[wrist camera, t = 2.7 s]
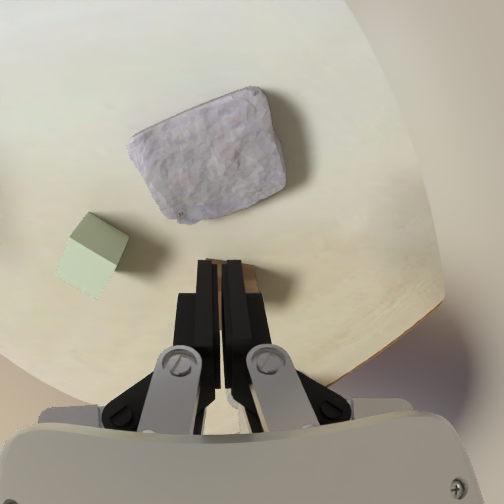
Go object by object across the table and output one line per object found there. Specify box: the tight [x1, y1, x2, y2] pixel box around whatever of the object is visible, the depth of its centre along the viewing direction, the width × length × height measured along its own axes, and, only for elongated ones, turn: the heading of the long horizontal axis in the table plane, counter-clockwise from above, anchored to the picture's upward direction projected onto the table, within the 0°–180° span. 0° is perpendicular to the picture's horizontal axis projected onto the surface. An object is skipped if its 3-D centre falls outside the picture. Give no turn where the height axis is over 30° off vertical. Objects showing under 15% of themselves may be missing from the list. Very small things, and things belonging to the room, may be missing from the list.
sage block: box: [55, 212, 130, 300], centre depth 26 cm, size 5×5×5 cm
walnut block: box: [206, 258, 259, 330], centre depth 30 cm, size 5×5×5 cm
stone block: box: [127, 86, 287, 225], centre depth 24 cm, size 12×5×10 cm
